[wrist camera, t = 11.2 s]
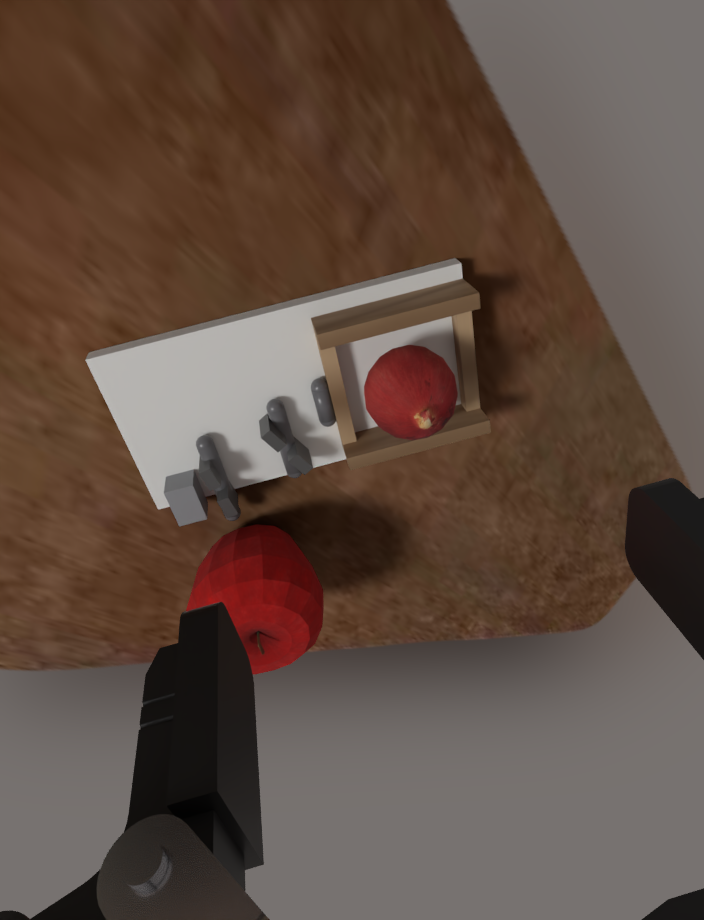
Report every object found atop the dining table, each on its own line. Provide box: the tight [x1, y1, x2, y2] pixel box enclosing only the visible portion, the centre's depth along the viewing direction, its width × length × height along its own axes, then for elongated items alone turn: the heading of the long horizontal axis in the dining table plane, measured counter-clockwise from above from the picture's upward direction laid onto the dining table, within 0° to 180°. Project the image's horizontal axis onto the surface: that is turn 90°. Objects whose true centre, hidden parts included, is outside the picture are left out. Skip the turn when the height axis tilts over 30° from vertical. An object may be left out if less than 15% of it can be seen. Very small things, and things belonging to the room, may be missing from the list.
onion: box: [364, 345, 458, 440], centre depth 38 cm, size 6×6×8 cm
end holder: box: [311, 279, 491, 470], centre depth 40 cm, size 10×10×3 cm
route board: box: [86, 258, 463, 526], centre depth 41 cm, size 14×24×4 cm, turn 101°
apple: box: [186, 524, 323, 674], centre depth 44 cm, size 10×10×11 cm
